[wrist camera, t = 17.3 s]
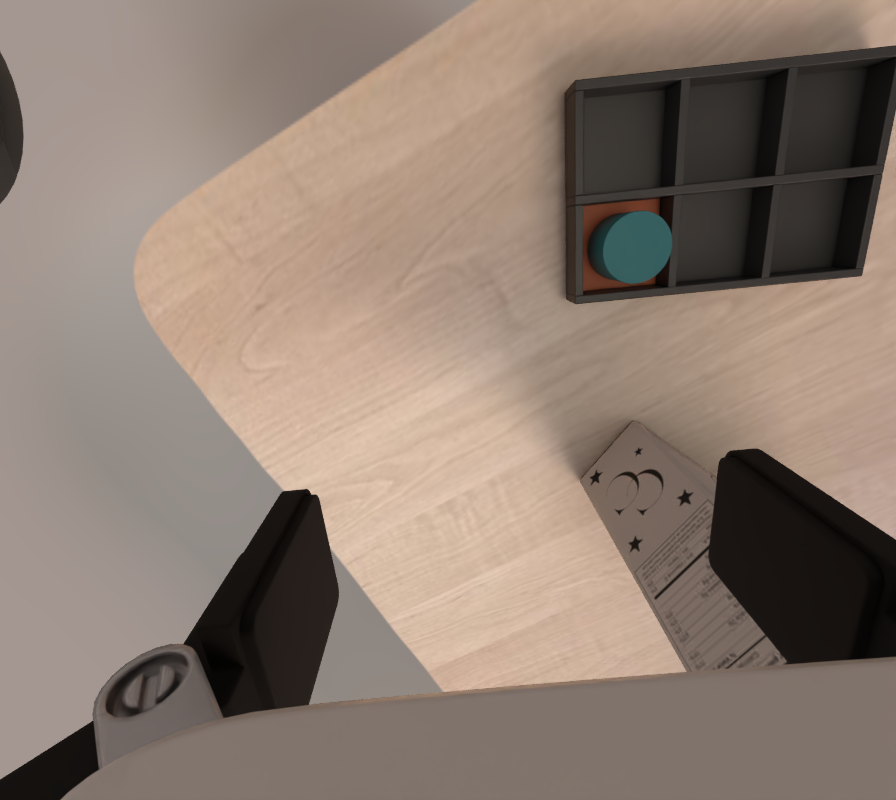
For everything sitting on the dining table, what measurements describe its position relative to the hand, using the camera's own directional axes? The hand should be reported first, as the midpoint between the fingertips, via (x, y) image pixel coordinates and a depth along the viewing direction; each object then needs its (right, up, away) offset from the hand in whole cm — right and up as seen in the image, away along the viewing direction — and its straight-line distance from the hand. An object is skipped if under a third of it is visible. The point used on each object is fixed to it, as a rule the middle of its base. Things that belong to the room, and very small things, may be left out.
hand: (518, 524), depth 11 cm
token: (+11, +15, +24) cm, 31 cm away
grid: (+18, +19, +24) cm, 35 cm away
